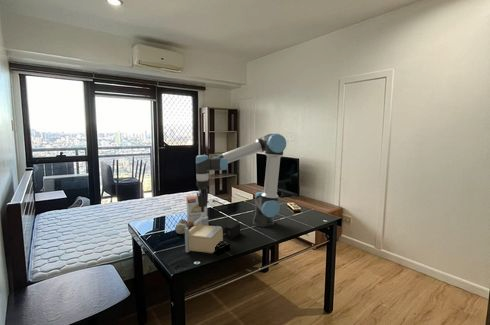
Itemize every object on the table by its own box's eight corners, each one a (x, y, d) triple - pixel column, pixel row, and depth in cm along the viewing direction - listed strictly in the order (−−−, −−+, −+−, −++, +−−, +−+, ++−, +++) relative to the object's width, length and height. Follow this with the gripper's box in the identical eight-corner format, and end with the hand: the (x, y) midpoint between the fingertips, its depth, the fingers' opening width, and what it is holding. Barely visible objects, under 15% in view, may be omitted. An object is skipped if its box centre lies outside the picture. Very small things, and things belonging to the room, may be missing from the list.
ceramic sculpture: (171, 222, 164) (177, 215, 179) (171, 235, 164) (177, 228, 179) (187, 222, 164) (192, 215, 179) (188, 235, 165) (192, 228, 180)
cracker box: (188, 227, 179) (187, 197, 177) (186, 224, 185) (185, 196, 182) (208, 224, 185) (207, 195, 182) (205, 221, 190) (205, 193, 188)
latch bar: (204, 218, 161) (204, 216, 161) (196, 225, 150) (196, 222, 150) (202, 218, 162) (202, 215, 161) (193, 225, 150) (193, 222, 150)
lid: (221, 228, 154) (221, 223, 154) (211, 238, 139) (211, 233, 138) (200, 226, 158) (200, 221, 157) (187, 236, 142) (187, 231, 142)
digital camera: (233, 231, 170) (233, 221, 169) (240, 233, 167) (240, 223, 166) (224, 237, 161) (224, 226, 160) (231, 239, 158) (231, 228, 157)
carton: (228, 234, 164) (227, 214, 163) (211, 255, 137) (210, 231, 136) (206, 232, 168) (205, 212, 167) (185, 252, 141) (184, 228, 140)
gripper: (201, 177, 166) (202, 212, 169) (192, 181, 154) (193, 219, 157) (212, 178, 164) (213, 213, 167) (203, 182, 152) (204, 220, 155)
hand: (203, 216), depth 162 cm, fingers closed
